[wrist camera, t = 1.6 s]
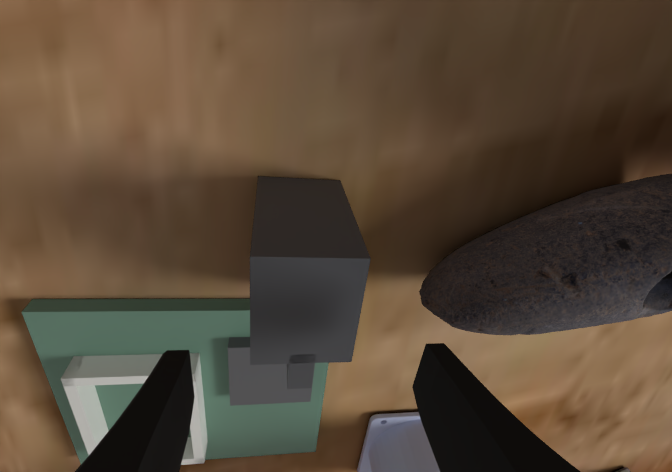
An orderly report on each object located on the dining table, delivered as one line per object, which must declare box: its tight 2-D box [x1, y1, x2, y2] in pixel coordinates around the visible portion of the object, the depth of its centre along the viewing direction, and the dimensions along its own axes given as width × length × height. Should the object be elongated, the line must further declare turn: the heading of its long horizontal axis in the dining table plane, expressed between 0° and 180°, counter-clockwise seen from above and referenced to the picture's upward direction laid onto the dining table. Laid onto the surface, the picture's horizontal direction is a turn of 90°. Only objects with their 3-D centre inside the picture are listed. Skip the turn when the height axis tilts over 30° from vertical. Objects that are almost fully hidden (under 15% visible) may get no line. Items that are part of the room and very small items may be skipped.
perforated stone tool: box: [419, 174, 672, 335], centre depth 19 cm, size 15×5×7 cm, turn 106°
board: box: [22, 299, 328, 465], centre depth 24 cm, size 16×14×2 cm
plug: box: [250, 176, 371, 389], centre depth 17 cm, size 4×6×7 cm, turn 173°
